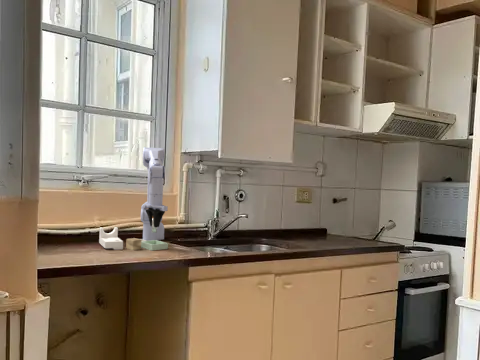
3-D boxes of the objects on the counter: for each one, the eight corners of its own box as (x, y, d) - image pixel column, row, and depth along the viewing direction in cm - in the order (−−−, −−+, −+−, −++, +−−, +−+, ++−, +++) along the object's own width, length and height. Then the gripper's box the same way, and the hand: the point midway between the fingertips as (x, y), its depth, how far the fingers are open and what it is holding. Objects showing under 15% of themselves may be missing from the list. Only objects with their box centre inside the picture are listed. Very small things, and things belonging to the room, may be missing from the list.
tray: (155, 245, 200) (155, 240, 200) (167, 248, 194) (168, 243, 194) (139, 247, 194) (139, 241, 194) (151, 250, 188) (152, 244, 188)
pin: (154, 231, 195) (155, 215, 195) (158, 232, 194) (158, 215, 194) (150, 232, 194) (151, 215, 194) (153, 232, 192) (154, 216, 192)
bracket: (99, 244, 197) (99, 227, 196) (115, 244, 200) (116, 227, 200) (105, 250, 185) (105, 232, 185) (122, 249, 188) (123, 231, 188)
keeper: (141, 243, 202) (141, 239, 202) (147, 245, 199) (147, 240, 199) (131, 244, 199) (131, 240, 199) (137, 246, 196) (137, 241, 196)
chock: (134, 247, 194) (134, 238, 194) (141, 249, 190) (141, 239, 190) (126, 248, 191) (126, 238, 191) (132, 250, 187) (133, 240, 187)
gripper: (138, 193, 196) (136, 224, 196) (158, 195, 185) (156, 229, 186) (152, 192, 201) (150, 223, 201) (172, 195, 190) (170, 228, 191)
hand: (154, 226), depth 194 cm, fingers closed on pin, 2 cm apart
